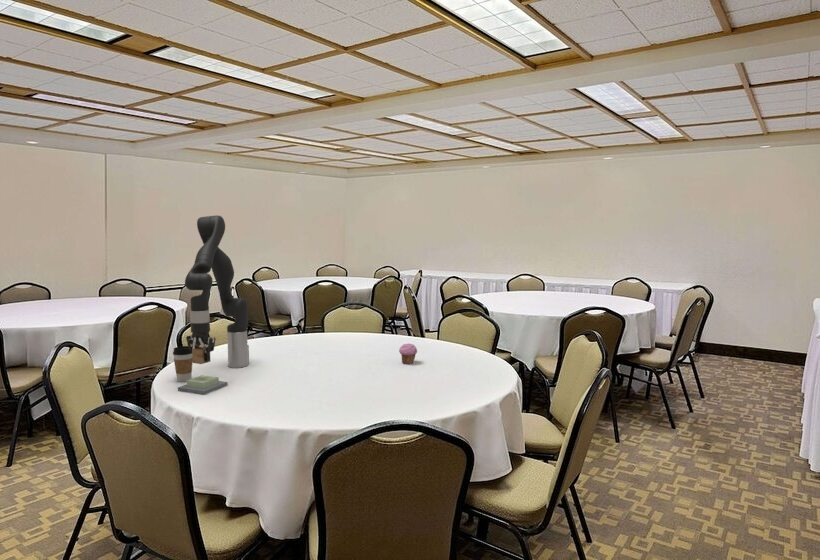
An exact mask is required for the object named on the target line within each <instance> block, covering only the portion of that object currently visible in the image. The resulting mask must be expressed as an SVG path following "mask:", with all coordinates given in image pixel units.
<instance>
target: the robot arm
mask: <svg viewBox="0 0 820 560" xmlns="http://www.w3.org/2000/svg"><path fill="white" fill-rule="evenodd" d="M196 220H197V221H196V226H197V231H198V235H199V236H200V239H201V241H202V244H203V245H202V246H201V247H200V248H199V250H198V251H197V253H196V256H195V259H194V263H193V265H192V267H191V268H190V269H189V271H188V273H187V275H186V277H185V278H184V279H185V280H184V286H185V287H186V289H187V290H188V291H202V292H201V294H199V295H194V296H192V297H191V298H190V315H189V317H190V319H189V320H190V332H191V335H187V336H186V337H185V340H186V343H187V346H188V348H189V350H192V349H194V348H197V347H202V348H203V349H204V361H205V362H207V363H209V362H208V361H209V360H210V361H211V352H214V350H215V345H216V337H211V335H210V331H211V326H210V325H211V319H210V318H211V317H210V315H211V314H210V308H209V304H210V303H209V299H210V294H211V291H212V285H213V282H214V281H213V277H214V279H215V283H216V285H217V286H216V287H217V289H218V290H217V291H218V294H219V298H220V304H221V309H222V312H223V314H224V316H227V317H229V318H230V317H231V318H234V319H235V320H234V321H233V323H229V324H228V325H227V326H226V335H227V362H228V364H227V366H228V367H229V368H232V369H234V368H235V369H236V368H237V369H239V368H244V367H247V366H248V365H249V364H250V350H249V348H250V347H249V344H248V326H249V302H248V300H246V298H241V297H234V296H233V293H232V289H231V286H232V284H233V280H234V277H235V269H234V266H233V263H232V260H231V258H230V257H229V256H228V254H226V253H225V252H224V251H223V250H222V249H221V248H220V247H219V246H220V243H221V241H222V239H223V237H224V234H225V231H226V222H225V219H224V218H223V216H222V215H208V216H207V215H206V216H201V217H199V218H198V219H196ZM211 271H212V274H213V277H212V275H211V274H210V272H211ZM206 348H207V350H206Z"/></svg>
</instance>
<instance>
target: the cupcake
mask: <svg viewBox="0 0 820 560" xmlns="http://www.w3.org/2000/svg"><path fill="white" fill-rule="evenodd" d="M398 351H399V354H400V356H401V363H402V364H405V365H406V364H407V365H412V364H413V363H414V362H415V359H416V354H417V353H418V348H417V347H416V345H415V344H413V343H404V344H402V345H401V346H400V347H399V350H398Z"/></svg>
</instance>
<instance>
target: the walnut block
mask: <svg viewBox="0 0 820 560" xmlns="http://www.w3.org/2000/svg"><path fill="white" fill-rule="evenodd" d="M206 350H207V348H206ZM207 363H211V359H210V360H209V361H208V362H205V361H204V349H203V348H202V347H201V346H199V347H197V348H194V349H192V364H196V365H197V364H198V365H203V364H207Z"/></svg>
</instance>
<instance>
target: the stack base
mask: <svg viewBox="0 0 820 560" xmlns="http://www.w3.org/2000/svg"><path fill="white" fill-rule="evenodd" d="M228 385H229V384H228V382H227V381H222V380H219V376H213V375H212V376H211V375H204V374H203V375H202V374H201V375H198V376H195V377H191V379H190V380H187V382H186V384H183V385H180V386H178V387H177V392H183V393H191V394H196V395H203V396H205V395H208V394H210V393H212V392H215V391H217V390H220V389H222V387H223V388H225V387H228Z"/></svg>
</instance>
